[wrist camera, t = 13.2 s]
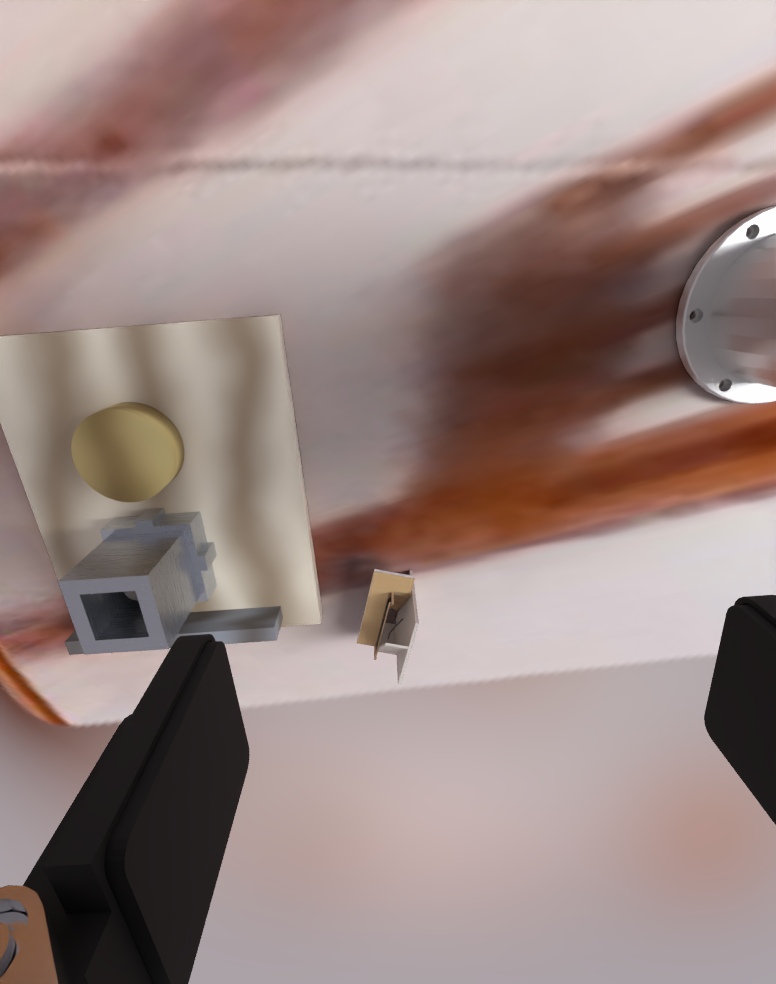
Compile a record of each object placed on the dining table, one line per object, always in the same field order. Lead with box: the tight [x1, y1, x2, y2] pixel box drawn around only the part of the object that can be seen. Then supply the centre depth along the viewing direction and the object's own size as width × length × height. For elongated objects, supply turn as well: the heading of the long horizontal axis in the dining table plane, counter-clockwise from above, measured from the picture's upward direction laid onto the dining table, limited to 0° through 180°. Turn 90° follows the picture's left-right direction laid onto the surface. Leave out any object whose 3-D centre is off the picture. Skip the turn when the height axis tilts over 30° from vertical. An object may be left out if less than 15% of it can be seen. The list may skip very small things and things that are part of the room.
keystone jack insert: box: [58, 508, 217, 654], centre depth 35 cm, size 7×7×8 cm
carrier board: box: [0, 315, 323, 655], centre depth 35 cm, size 20×24×6 cm
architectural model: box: [357, 569, 419, 684], centre depth 39 cm, size 3×7×7 cm, turn 167°
